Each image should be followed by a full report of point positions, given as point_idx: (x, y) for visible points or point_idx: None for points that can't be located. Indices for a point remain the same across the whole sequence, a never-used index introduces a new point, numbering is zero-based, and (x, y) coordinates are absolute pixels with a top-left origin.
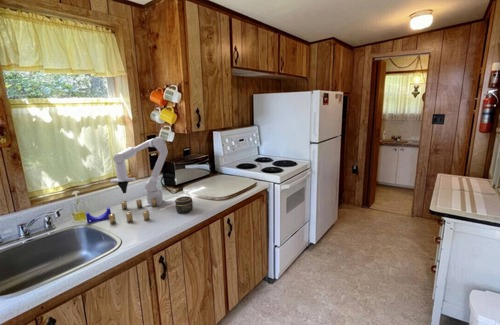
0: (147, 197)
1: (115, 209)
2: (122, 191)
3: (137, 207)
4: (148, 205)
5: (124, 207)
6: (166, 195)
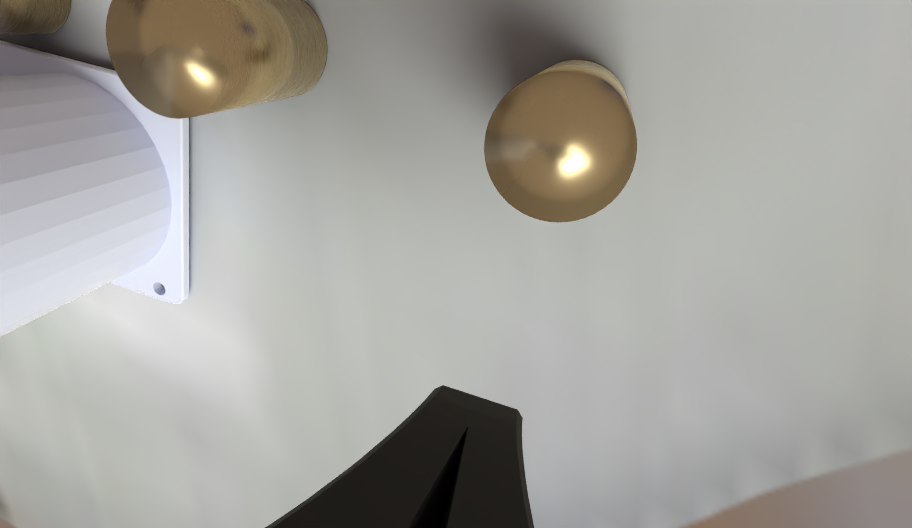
0: (6, 152)
1: (777, 212)
2: (518, 461)
3: (303, 14)
4: None
5: (568, 63)
6: (14, 424)
